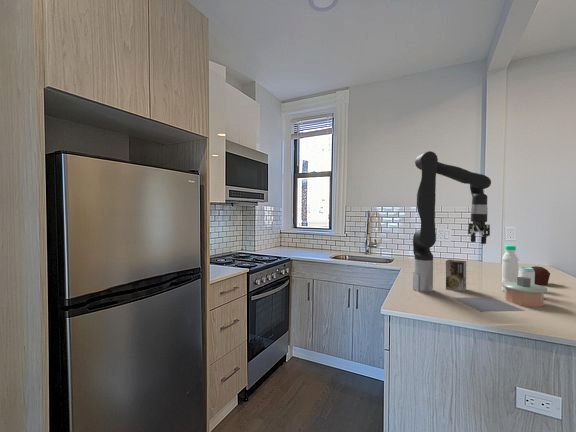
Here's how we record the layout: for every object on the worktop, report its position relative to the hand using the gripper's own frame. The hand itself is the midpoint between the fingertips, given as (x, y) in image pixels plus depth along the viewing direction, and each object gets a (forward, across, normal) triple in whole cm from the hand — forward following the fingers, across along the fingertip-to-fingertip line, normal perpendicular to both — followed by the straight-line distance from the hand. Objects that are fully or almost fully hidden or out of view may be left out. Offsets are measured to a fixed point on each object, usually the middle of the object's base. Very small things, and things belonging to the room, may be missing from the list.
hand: (478, 242), depth 161 cm
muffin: (+26, -16, +48) cm, 57 cm away
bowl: (+26, +20, +9) cm, 34 cm away
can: (+26, -3, +30) cm, 40 cm away
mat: (+27, +23, -11) cm, 37 cm away
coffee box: (+27, -3, -10) cm, 29 cm away
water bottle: (+26, +1, +18) cm, 32 cm away
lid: (+19, +20, +9) cm, 29 cm away
